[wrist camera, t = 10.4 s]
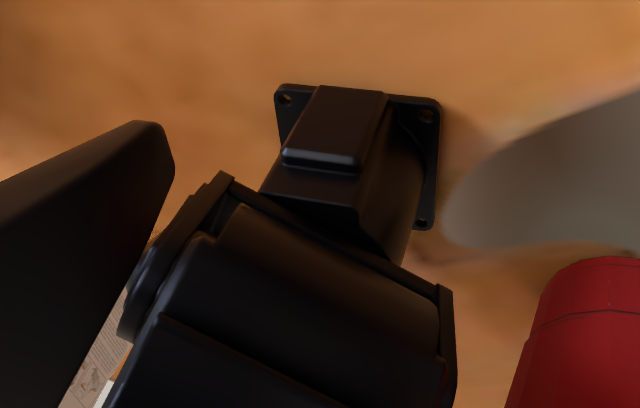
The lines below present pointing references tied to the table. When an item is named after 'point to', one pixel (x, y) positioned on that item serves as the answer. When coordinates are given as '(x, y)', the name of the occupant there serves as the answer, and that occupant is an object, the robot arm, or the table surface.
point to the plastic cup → (584, 340)
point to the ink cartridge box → (98, 362)
